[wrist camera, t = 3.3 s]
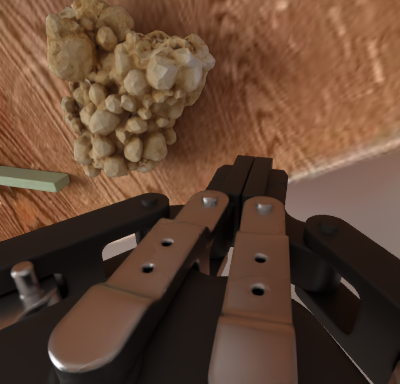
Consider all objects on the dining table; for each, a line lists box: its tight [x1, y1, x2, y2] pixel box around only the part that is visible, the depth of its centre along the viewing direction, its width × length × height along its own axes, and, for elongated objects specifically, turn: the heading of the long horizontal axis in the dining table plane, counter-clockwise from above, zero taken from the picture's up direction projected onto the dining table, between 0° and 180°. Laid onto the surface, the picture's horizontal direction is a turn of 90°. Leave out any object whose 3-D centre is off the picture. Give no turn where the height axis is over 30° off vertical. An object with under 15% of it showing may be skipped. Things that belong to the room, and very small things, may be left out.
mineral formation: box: [46, 0, 216, 178], centre depth 27 cm, size 8×13×15 cm
